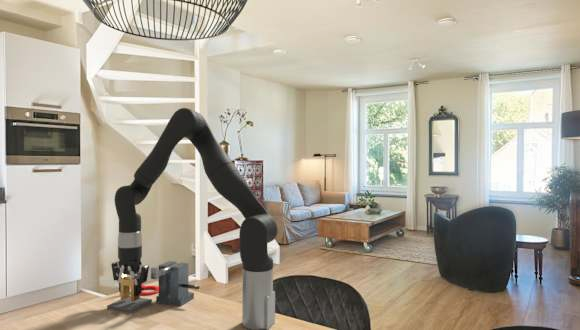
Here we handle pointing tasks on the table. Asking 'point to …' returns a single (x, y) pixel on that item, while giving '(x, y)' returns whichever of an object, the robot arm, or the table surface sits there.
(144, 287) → the tow hook
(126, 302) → the rubber mat
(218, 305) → the table surface
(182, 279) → the vise
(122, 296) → the ochre slotted block
